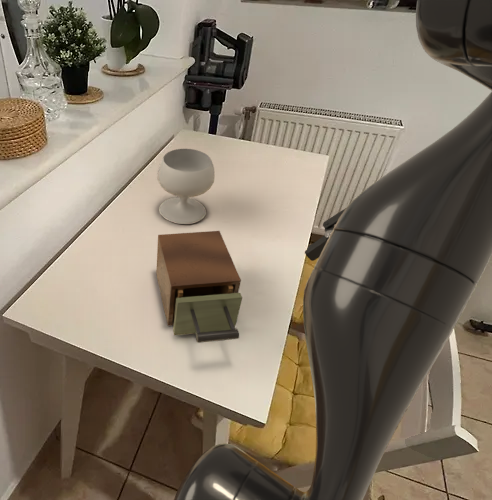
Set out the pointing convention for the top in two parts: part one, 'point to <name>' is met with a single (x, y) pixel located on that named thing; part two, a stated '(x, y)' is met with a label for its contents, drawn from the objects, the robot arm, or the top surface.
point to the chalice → (185, 184)
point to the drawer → (207, 312)
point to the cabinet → (192, 265)
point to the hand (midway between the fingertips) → (320, 276)
